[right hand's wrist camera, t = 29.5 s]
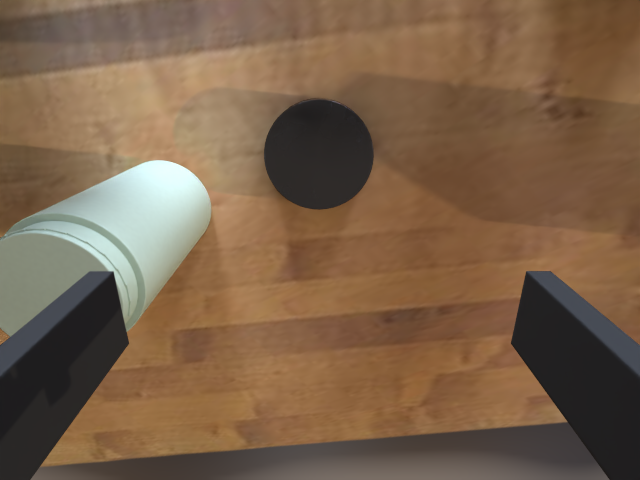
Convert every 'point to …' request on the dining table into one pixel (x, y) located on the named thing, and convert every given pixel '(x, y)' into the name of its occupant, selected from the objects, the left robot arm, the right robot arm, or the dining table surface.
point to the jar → (104, 241)
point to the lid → (318, 153)
